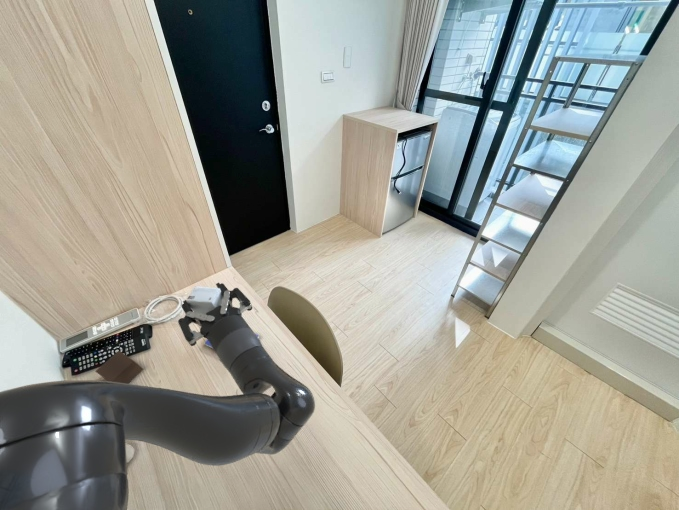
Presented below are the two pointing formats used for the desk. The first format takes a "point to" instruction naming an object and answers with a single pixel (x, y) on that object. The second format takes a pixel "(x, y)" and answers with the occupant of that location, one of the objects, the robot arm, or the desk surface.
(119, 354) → the walnut cube
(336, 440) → the desk surface
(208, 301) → the cosmetic box
